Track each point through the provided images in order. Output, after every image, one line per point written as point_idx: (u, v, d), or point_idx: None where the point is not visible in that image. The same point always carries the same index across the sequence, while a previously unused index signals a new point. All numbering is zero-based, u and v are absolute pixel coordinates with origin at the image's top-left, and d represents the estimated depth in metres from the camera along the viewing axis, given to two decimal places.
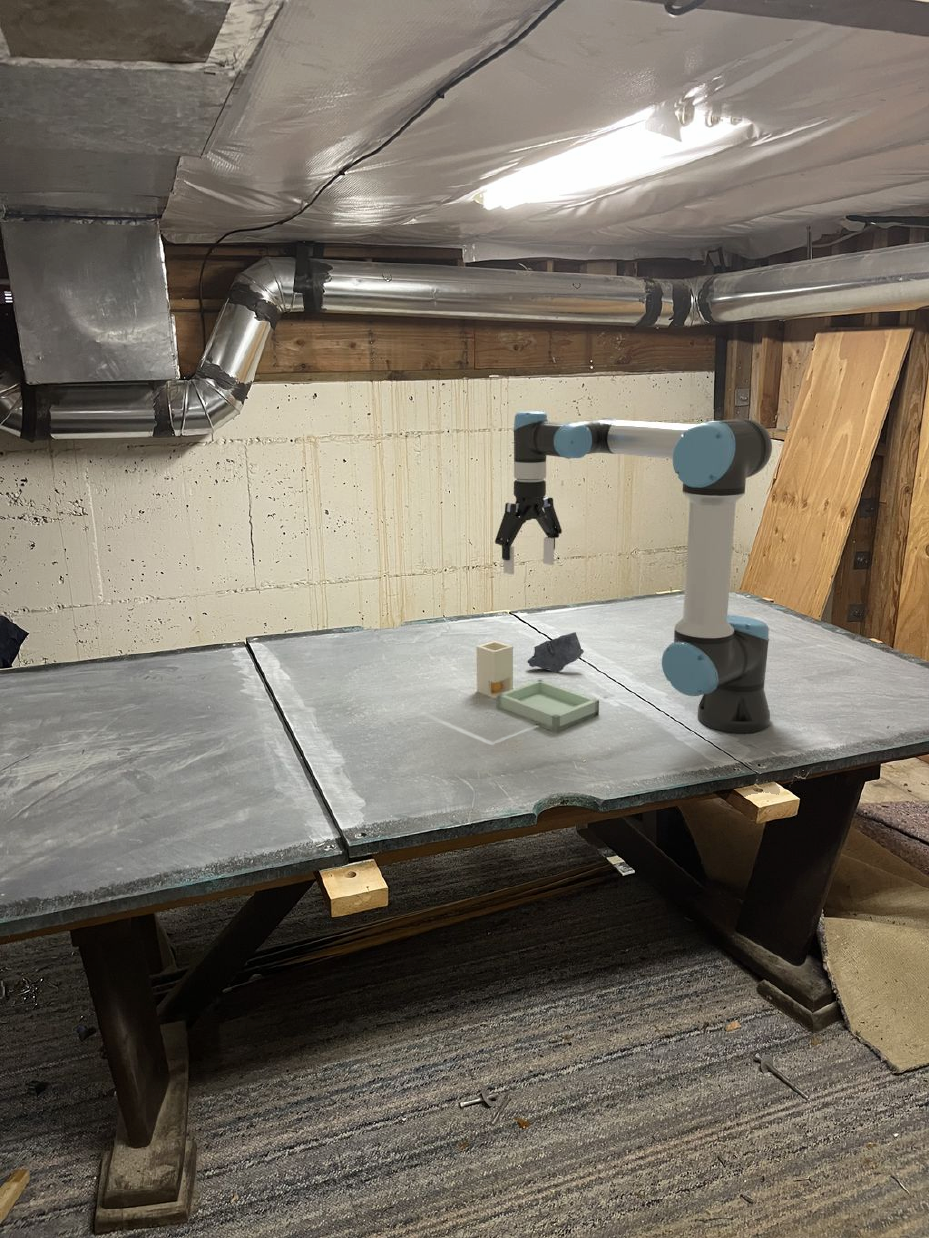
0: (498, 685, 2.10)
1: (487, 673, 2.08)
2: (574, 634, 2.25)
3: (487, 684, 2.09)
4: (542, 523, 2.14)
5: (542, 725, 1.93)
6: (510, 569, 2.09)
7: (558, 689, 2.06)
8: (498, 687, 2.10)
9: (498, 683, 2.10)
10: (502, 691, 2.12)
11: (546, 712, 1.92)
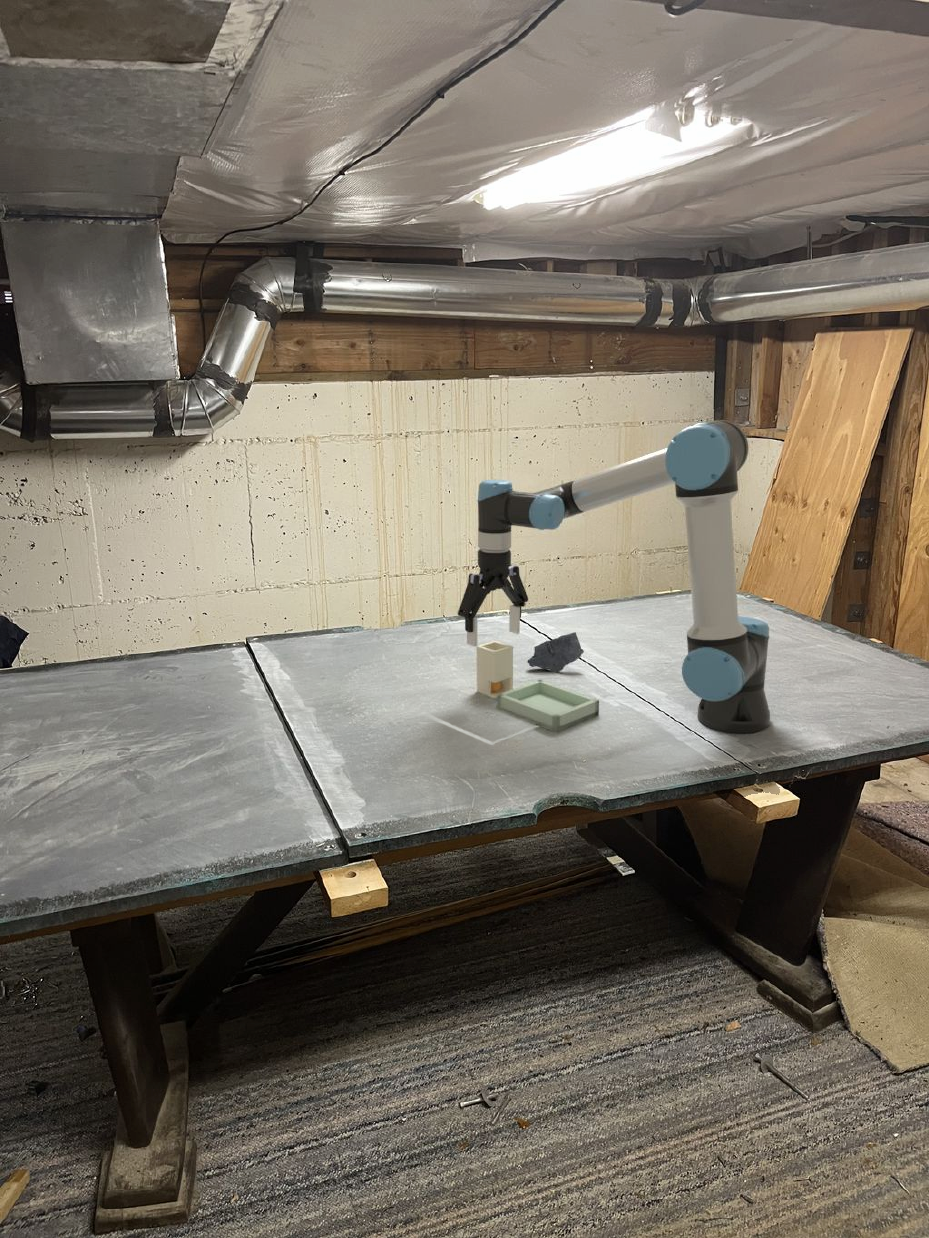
0: (498, 685, 2.10)
1: (487, 673, 2.08)
2: (574, 634, 2.25)
3: (487, 684, 2.09)
4: (508, 592, 2.08)
5: (542, 725, 1.93)
6: (473, 641, 2.03)
7: (558, 689, 2.06)
8: (498, 687, 2.10)
9: (498, 683, 2.10)
10: (502, 691, 2.12)
11: (546, 712, 1.92)
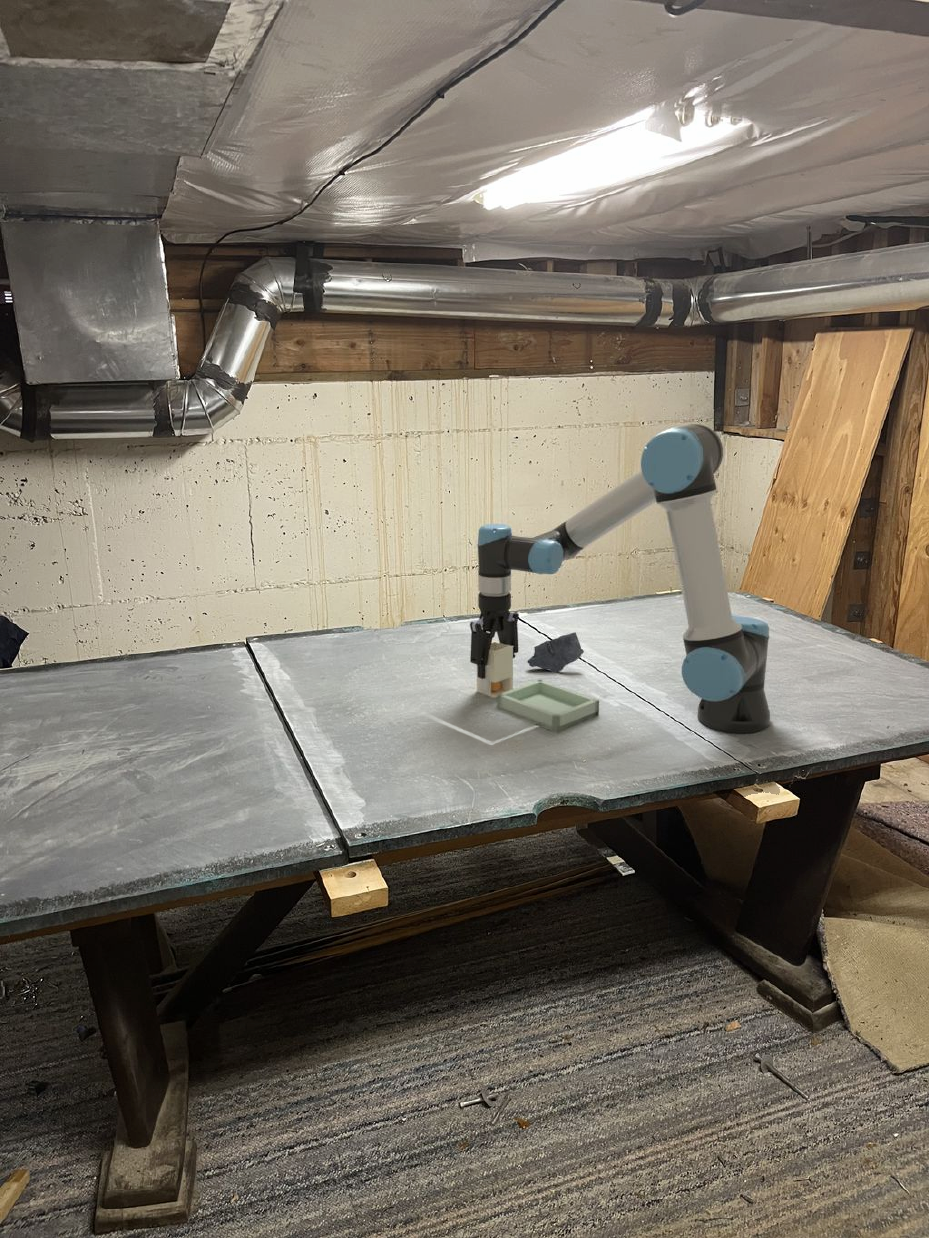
0: (497, 684, 2.10)
1: None
2: (574, 634, 2.25)
3: None
4: (502, 639, 2.10)
5: (542, 725, 1.93)
6: (486, 687, 2.08)
7: (558, 689, 2.06)
8: (498, 686, 2.10)
9: (497, 682, 2.11)
10: (502, 691, 2.12)
11: (546, 712, 1.92)
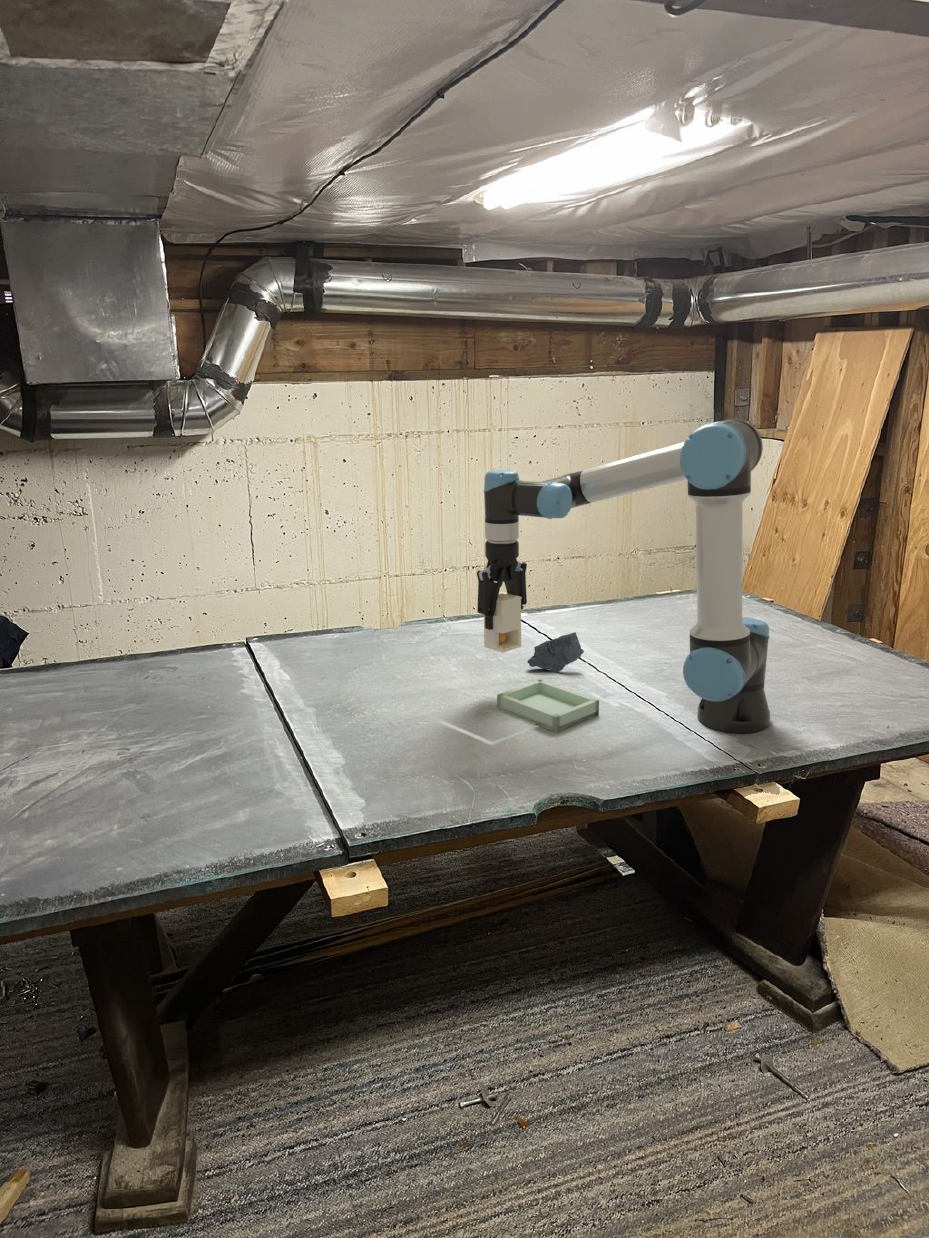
0: (501, 634, 2.05)
1: None
2: (574, 634, 2.25)
3: None
4: (510, 589, 2.05)
5: (542, 725, 1.93)
6: (493, 638, 2.03)
7: (558, 689, 2.06)
8: (502, 636, 2.05)
9: None
10: (510, 643, 2.07)
11: (546, 712, 1.92)
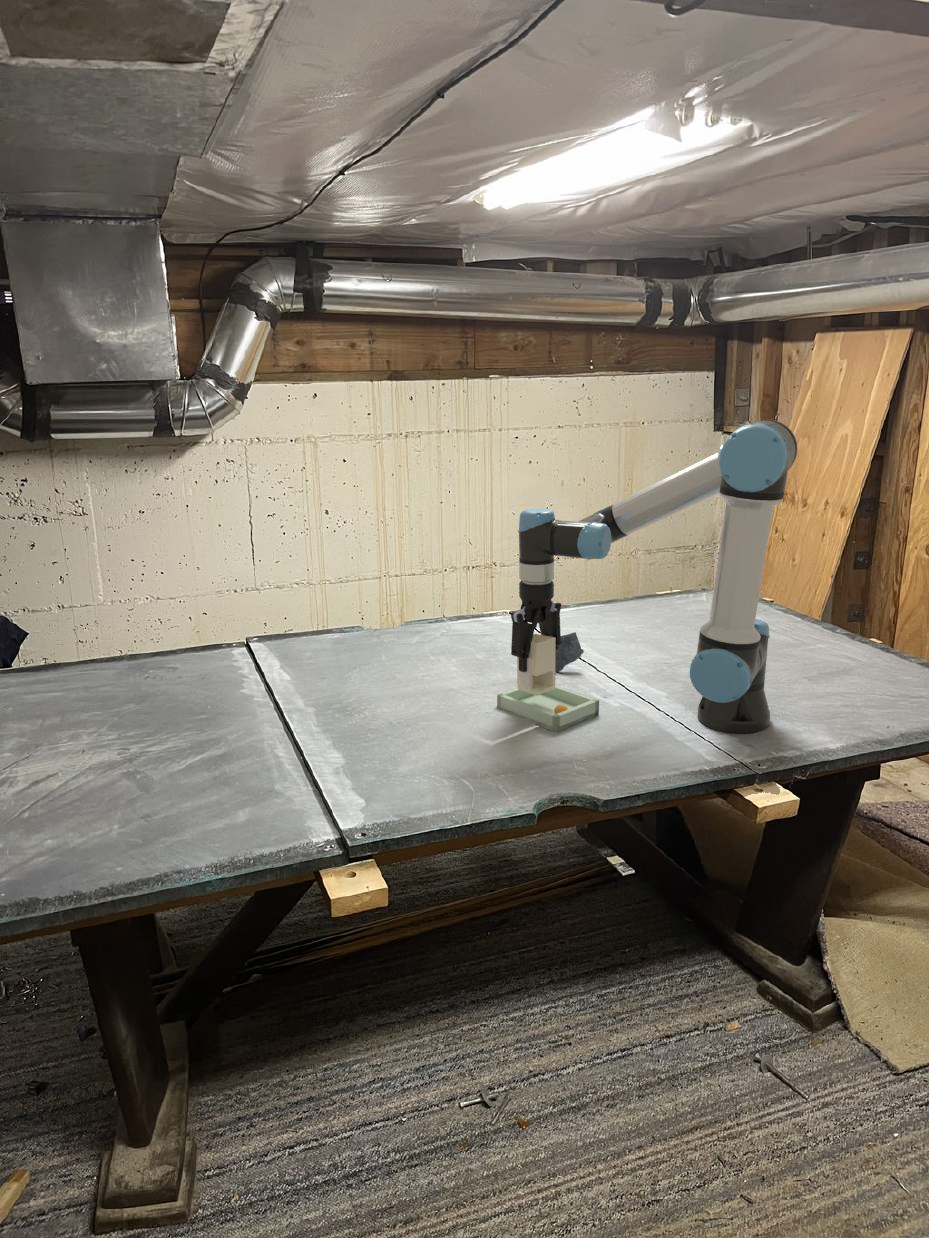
0: None
1: None
2: (574, 634, 2.25)
3: None
4: (544, 630, 1.99)
5: (542, 725, 1.93)
6: (527, 681, 1.97)
7: (558, 689, 2.06)
8: None
9: None
10: (544, 685, 2.01)
11: (546, 712, 1.92)
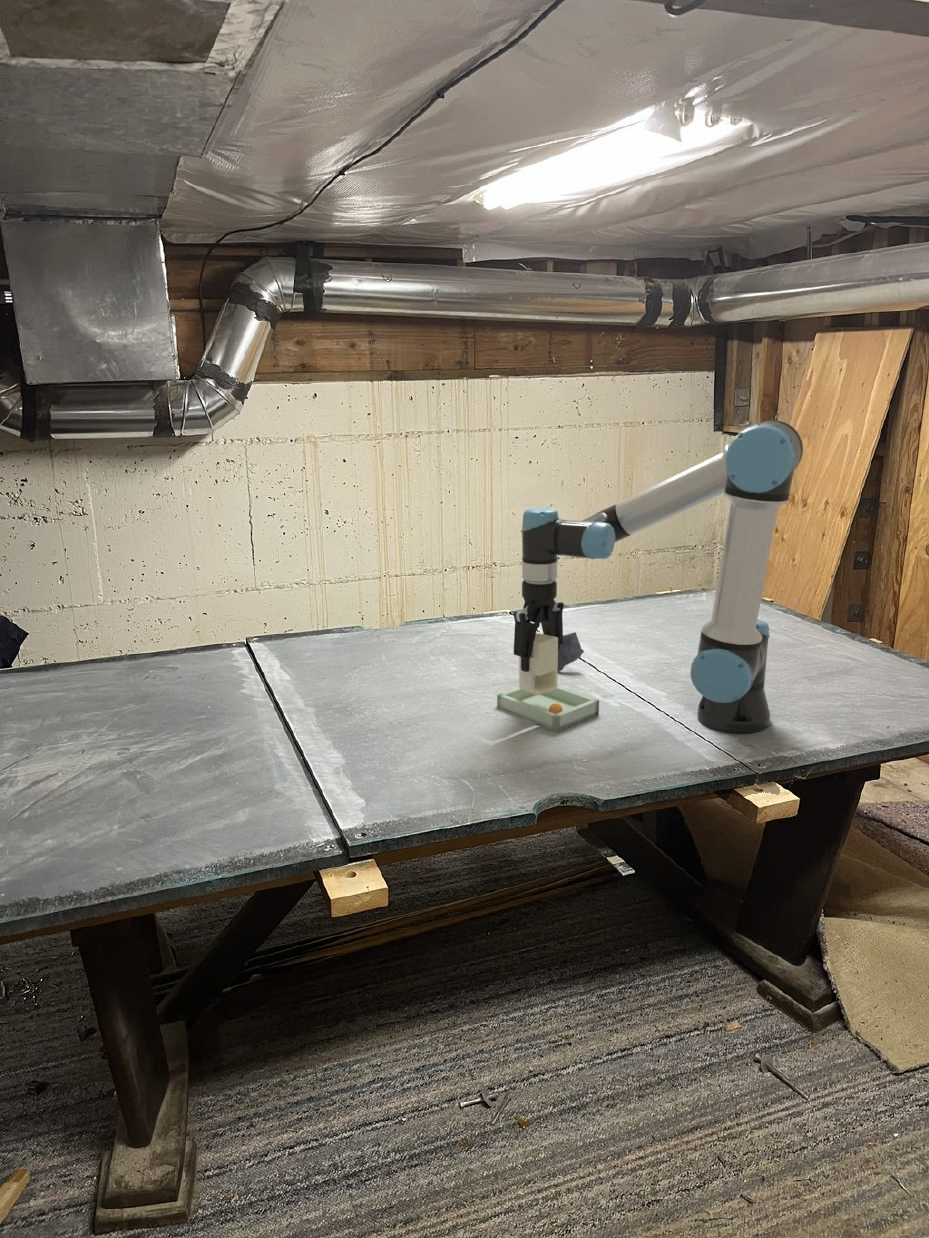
0: None
1: None
2: (574, 634, 2.25)
3: None
4: (547, 630, 1.98)
5: (542, 725, 1.93)
6: (529, 680, 1.97)
7: (558, 689, 2.06)
8: None
9: None
10: (546, 685, 2.00)
11: (546, 712, 1.92)
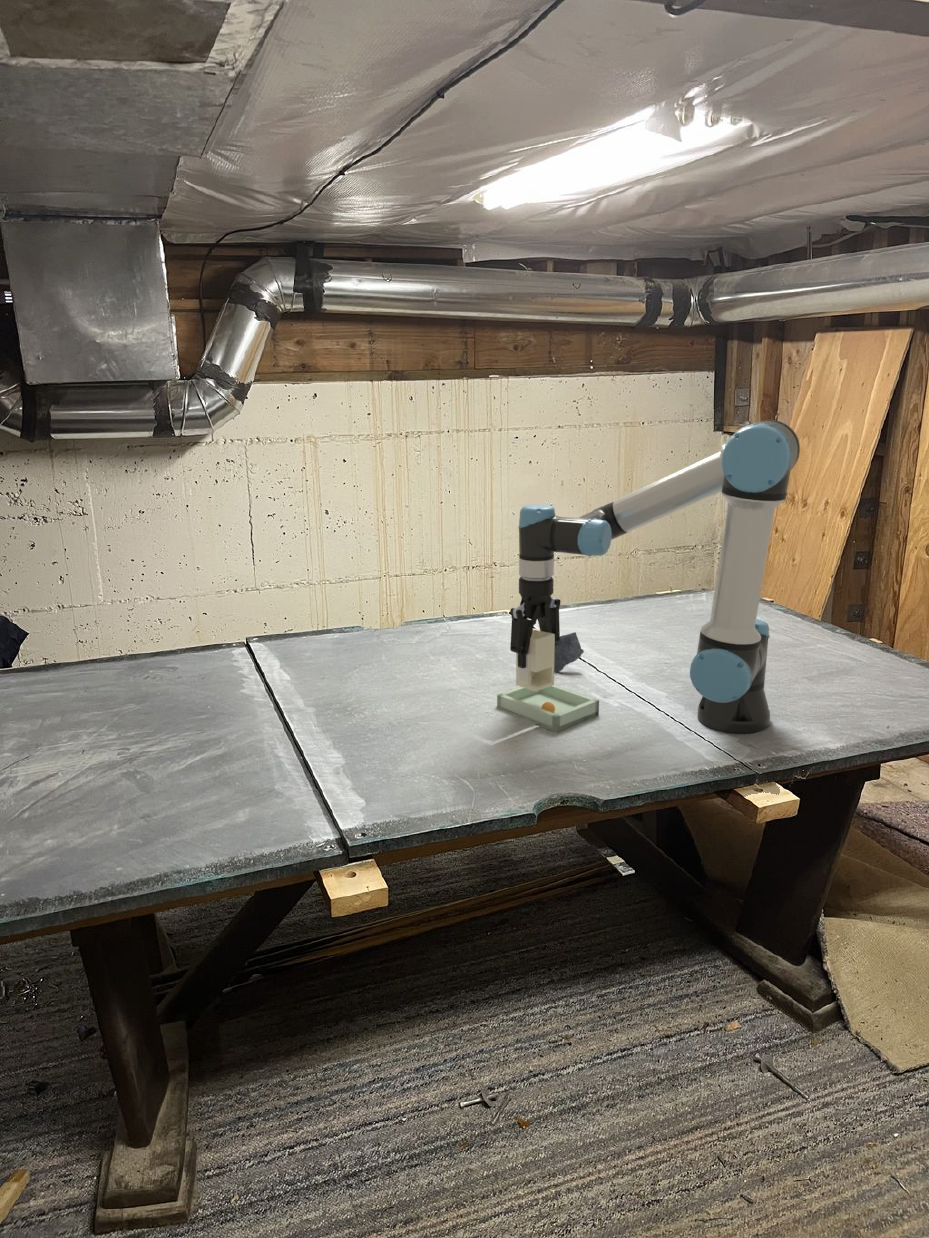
0: (554, 711, 1.96)
1: None
2: (574, 634, 2.25)
3: None
4: (543, 626, 1.99)
5: (542, 725, 1.93)
6: (526, 677, 1.97)
7: (558, 689, 2.06)
8: (553, 712, 1.97)
9: (554, 709, 1.96)
10: (543, 681, 2.01)
11: (546, 712, 1.92)
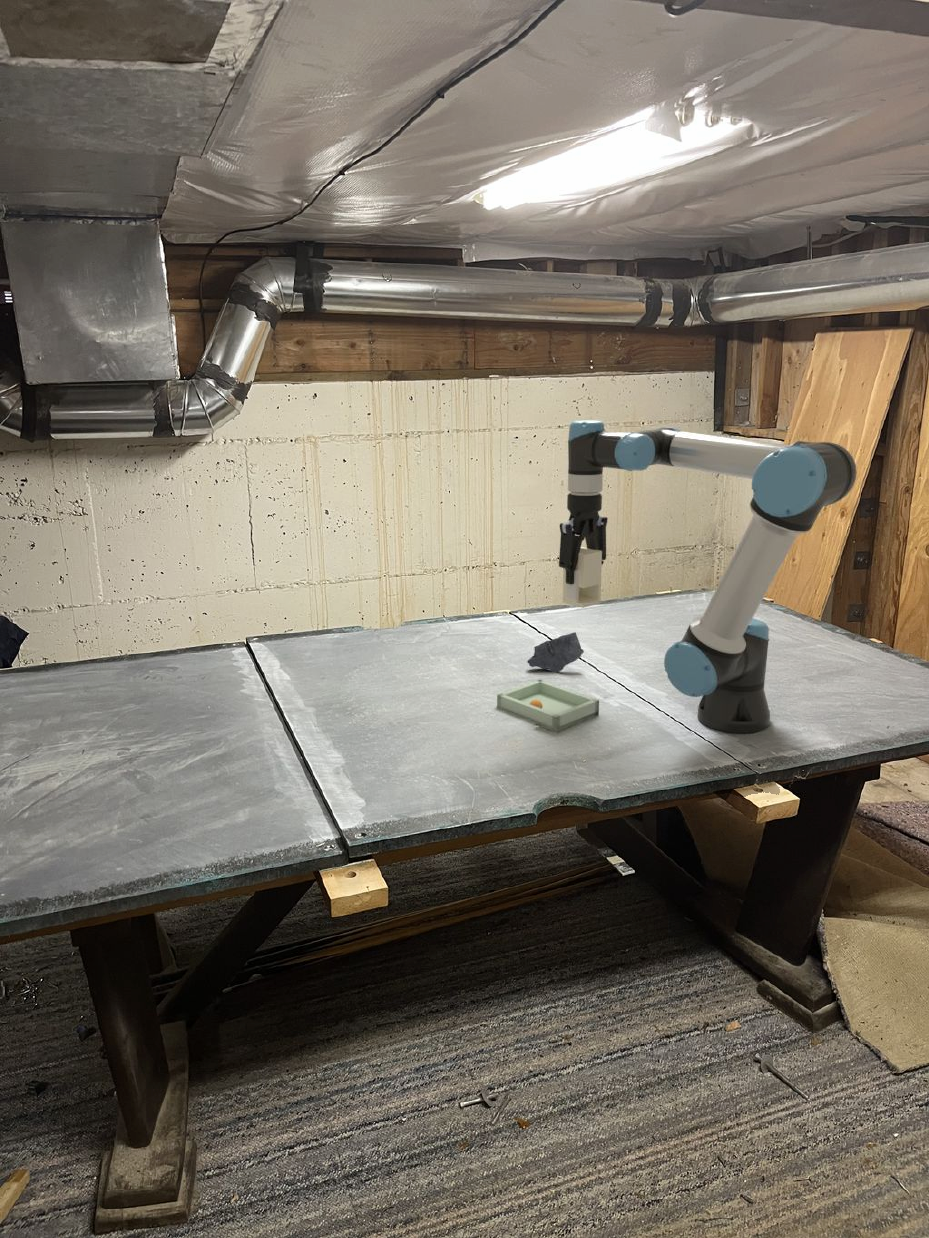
0: None
1: None
2: (574, 634, 2.25)
3: None
4: (591, 544, 2.01)
5: (542, 725, 1.93)
6: (574, 593, 1.99)
7: (558, 689, 2.06)
8: (537, 700, 1.98)
9: (533, 700, 1.98)
10: (589, 599, 2.03)
11: (546, 712, 1.92)
